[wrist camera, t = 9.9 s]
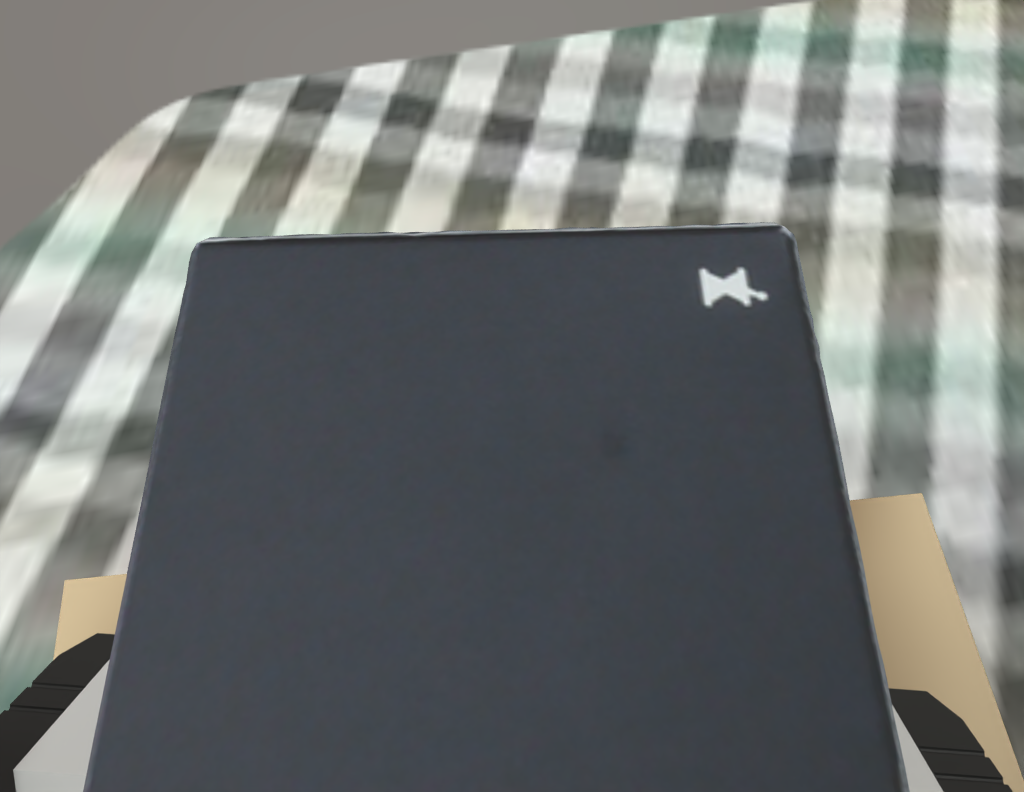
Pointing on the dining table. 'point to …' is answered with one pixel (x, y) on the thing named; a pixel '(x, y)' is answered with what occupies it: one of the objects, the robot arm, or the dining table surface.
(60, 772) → the robot arm
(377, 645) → the small box
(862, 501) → the oak board
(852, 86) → the dining table surface
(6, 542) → the dining table surface
